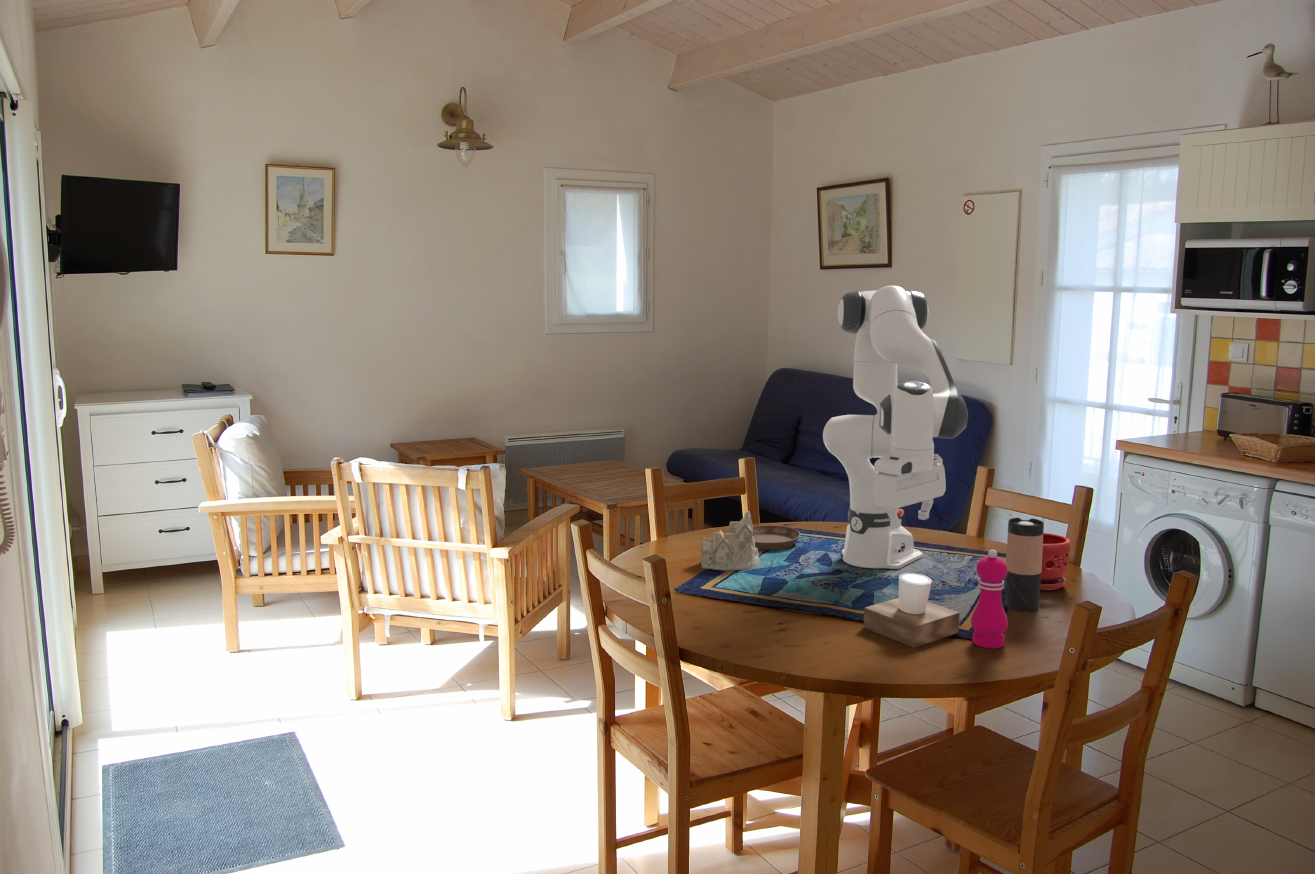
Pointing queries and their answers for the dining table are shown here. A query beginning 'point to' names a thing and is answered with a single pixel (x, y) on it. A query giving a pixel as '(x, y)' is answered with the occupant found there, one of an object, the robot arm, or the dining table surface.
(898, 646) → the dining table surface
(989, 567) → the pepper mill
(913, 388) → the robot arm
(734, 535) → the ceramic cottage
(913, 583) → the white cup
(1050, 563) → the plant pot
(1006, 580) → the travel mug
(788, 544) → the plant saucer
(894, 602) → the walnut base block
